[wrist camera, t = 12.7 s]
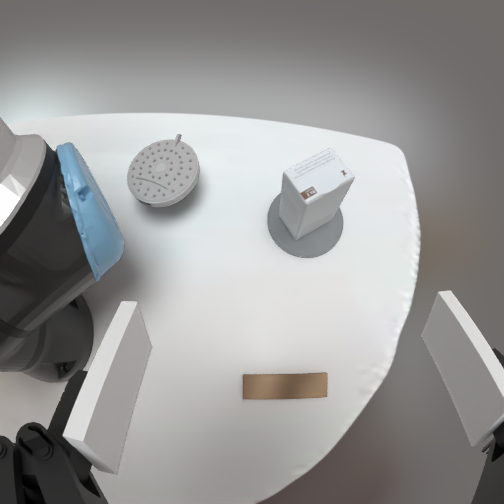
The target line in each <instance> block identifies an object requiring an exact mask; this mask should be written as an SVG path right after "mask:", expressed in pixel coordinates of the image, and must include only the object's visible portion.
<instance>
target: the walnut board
mask: <svg viewBox="0 0 504 504" xmlns="http://www.w3.org/2000/svg"><path fill="white" fill-rule="evenodd" d="M319 397H327V373H308V374H271V375H248V374H244V375H243V399H301V398H319Z"/></svg>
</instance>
